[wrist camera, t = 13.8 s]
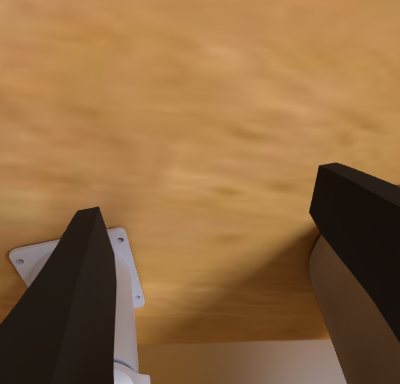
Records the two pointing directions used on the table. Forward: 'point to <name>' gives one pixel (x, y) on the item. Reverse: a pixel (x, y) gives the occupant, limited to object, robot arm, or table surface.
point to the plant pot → (353, 321)
